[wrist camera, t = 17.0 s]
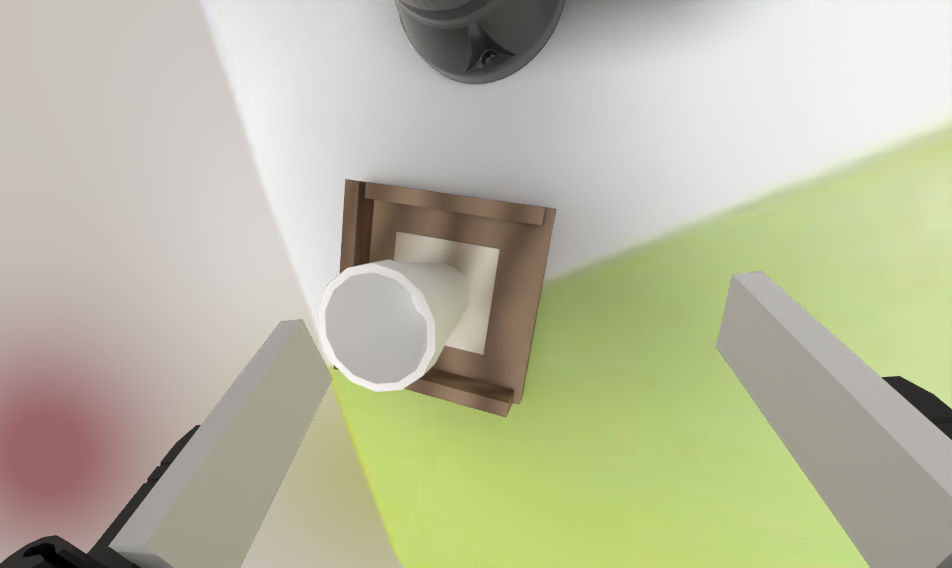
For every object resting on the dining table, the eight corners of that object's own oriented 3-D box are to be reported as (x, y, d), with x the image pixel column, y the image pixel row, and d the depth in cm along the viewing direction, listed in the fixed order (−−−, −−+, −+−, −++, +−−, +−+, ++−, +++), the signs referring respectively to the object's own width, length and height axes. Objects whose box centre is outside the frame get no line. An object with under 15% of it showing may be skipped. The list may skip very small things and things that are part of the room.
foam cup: (449, 229, 38) (383, 237, 26) (503, 305, 38) (462, 350, 26) (383, 282, 41) (296, 311, 29) (432, 352, 41) (366, 412, 29)
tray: (555, 209, 36) (551, 208, 32) (521, 398, 41) (514, 419, 37) (370, 182, 41) (345, 179, 37) (357, 354, 46) (333, 368, 41)
